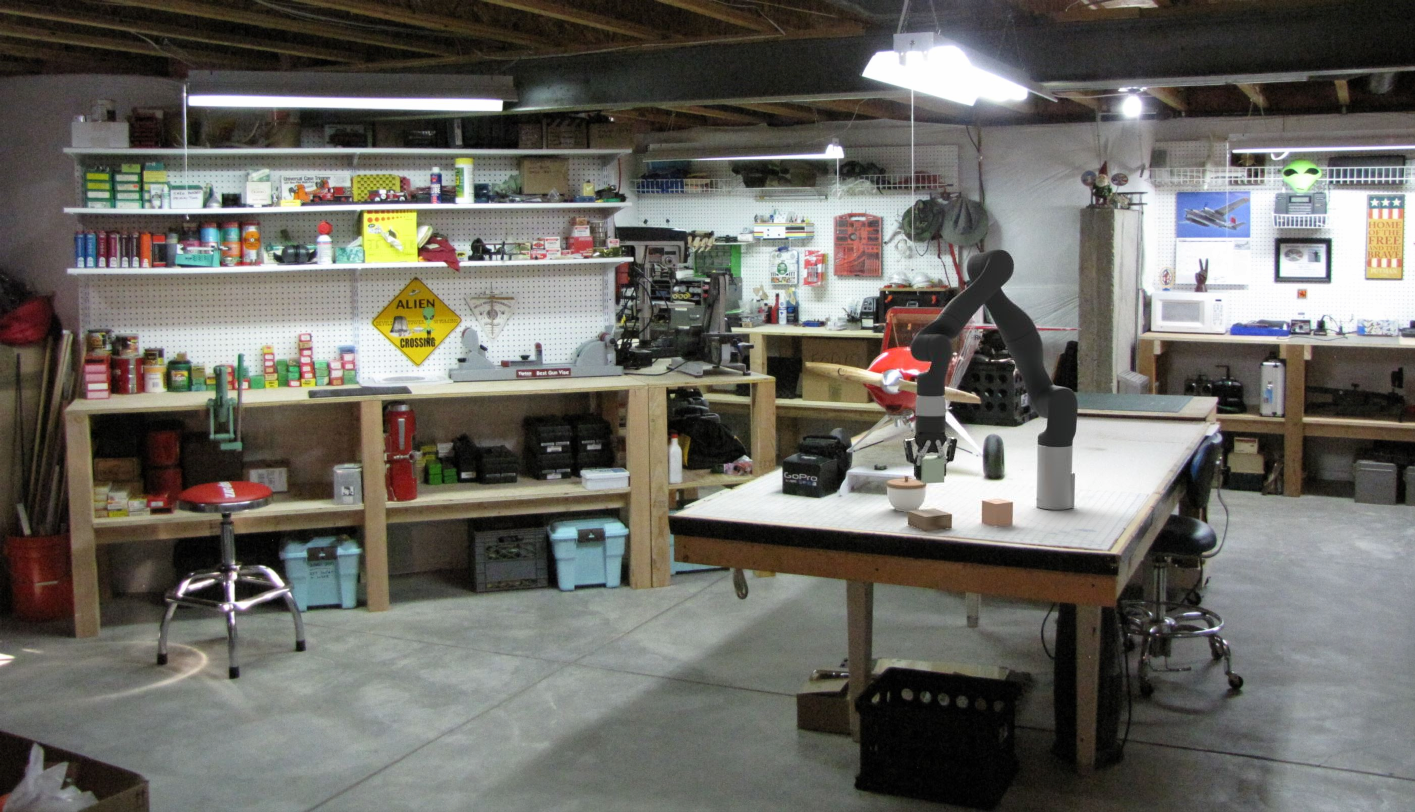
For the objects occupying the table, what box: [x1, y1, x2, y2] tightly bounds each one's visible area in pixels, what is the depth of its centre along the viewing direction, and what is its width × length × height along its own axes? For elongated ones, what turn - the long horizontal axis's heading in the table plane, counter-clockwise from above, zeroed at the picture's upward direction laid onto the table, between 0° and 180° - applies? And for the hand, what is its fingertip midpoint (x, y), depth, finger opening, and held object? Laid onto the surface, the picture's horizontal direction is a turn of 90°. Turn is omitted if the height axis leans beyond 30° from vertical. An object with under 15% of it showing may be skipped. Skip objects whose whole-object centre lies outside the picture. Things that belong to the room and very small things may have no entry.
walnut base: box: [907, 508, 953, 532], centre depth 313 cm, size 8×8×4 cm
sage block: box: [915, 455, 945, 484], centre depth 312 cm, size 6×6×6 cm
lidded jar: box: [886, 475, 927, 513], centre depth 334 cm, size 11×11×9 cm
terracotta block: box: [981, 498, 1014, 527], centre depth 315 cm, size 6×6×6 cm
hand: (929, 478), depth 312 cm, fingers closed on sage block, 5 cm apart
